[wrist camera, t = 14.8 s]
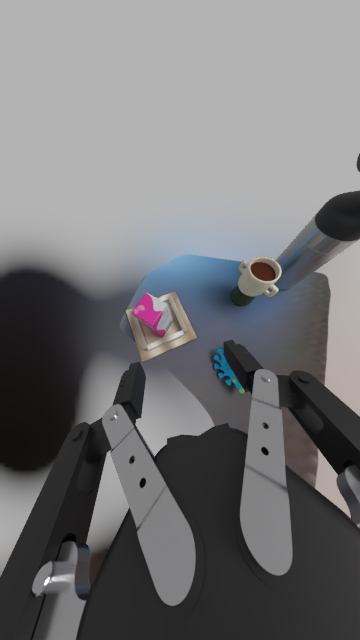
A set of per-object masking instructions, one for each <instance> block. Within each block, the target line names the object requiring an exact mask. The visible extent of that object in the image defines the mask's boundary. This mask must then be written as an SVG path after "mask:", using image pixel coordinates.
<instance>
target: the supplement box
mask: <svg viewBox="0 0 360 640" xmlns="http://www.w3.org/2000/svg"><path fill="white" fill-rule="evenodd" d="M131 313H132V314H133V315H134V316H135V317H136V318H137V319H138V320H139V321H140V322H142V323H143V324H144V325H145V326H146V327H147V328H149V329H150V330H152V331H153V332H155V333H157V334H158V335H160V336H161V337H163V336H164V334H165V333H166V331H167V330H168V328H169V327H170V325H171V324H172V322H173V319H172V316H171V313H170V310H169V307H168V304H167V303H165V302H163V301H161V300H160V299H158V298H156V297H154V296H152V295H150V294H149V293H146V294H145V295H144V296H143V298H142V299H141V300H140V302H139V303H138V304H137V305H136V307H135V308H134V309H133V311H132V312H131Z"/></svg>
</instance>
